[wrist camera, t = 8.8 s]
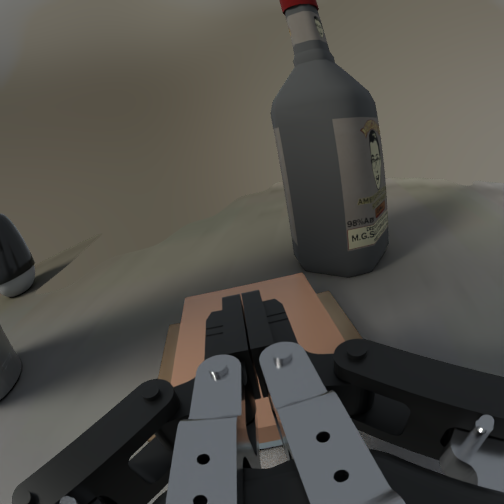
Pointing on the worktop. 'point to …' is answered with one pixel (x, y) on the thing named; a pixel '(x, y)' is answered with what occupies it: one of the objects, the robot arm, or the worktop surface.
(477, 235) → the worktop surface
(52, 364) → the worktop surface
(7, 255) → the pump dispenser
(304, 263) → the liquor
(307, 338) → the tile
